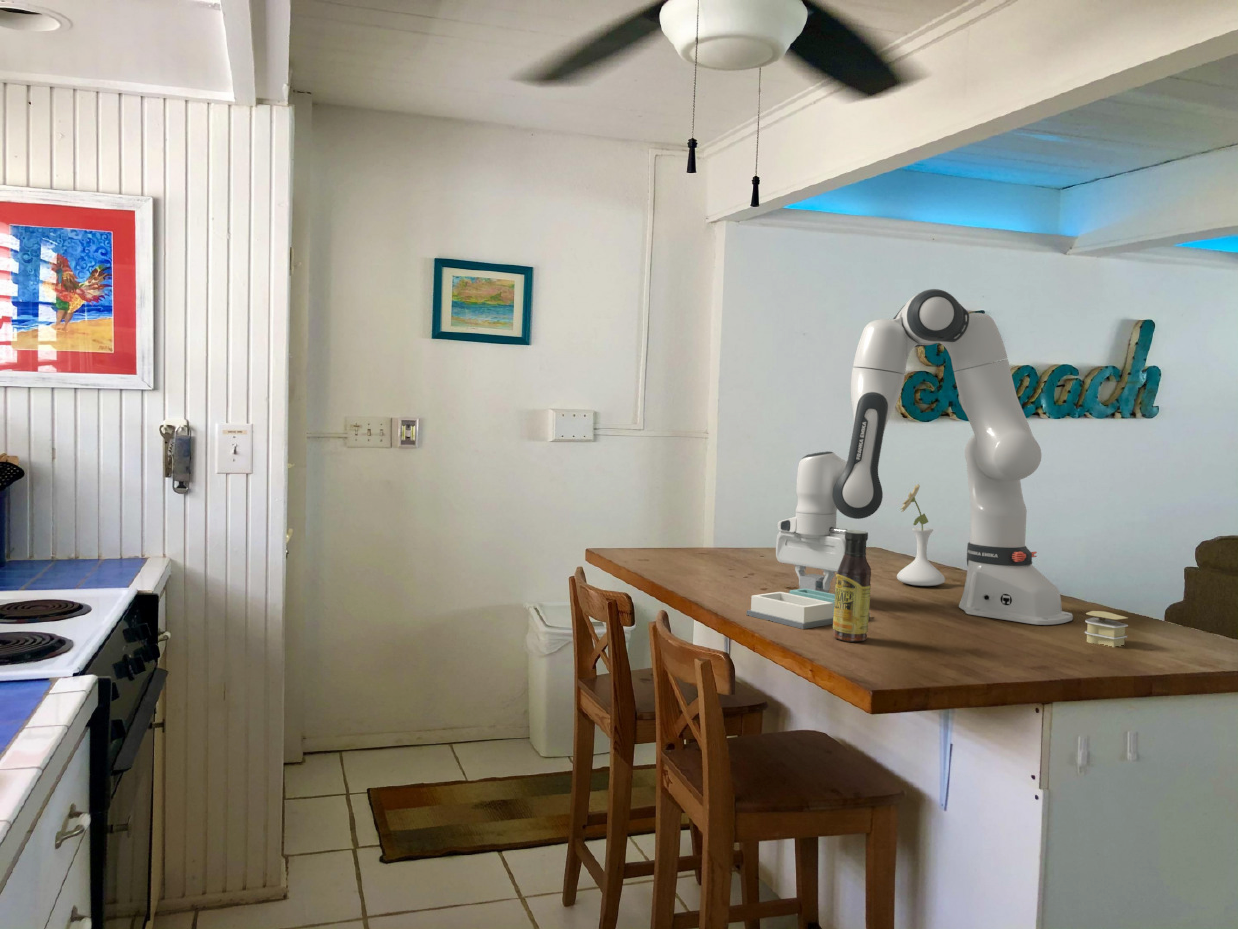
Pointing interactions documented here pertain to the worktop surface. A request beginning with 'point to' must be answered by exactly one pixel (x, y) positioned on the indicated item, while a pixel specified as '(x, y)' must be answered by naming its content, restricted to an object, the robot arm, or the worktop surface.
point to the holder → (795, 608)
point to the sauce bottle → (852, 590)
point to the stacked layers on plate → (1105, 629)
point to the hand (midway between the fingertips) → (814, 588)
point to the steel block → (812, 582)
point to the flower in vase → (920, 553)
